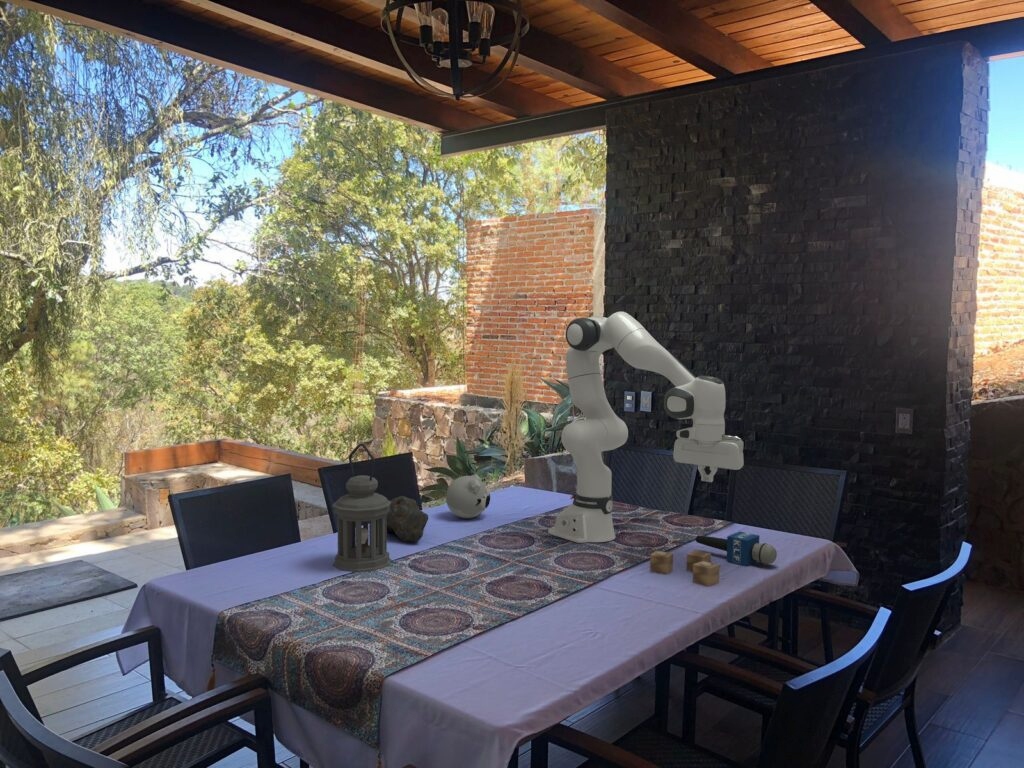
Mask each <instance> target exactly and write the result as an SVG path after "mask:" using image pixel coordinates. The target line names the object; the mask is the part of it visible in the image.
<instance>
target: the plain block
mask: <svg viewBox="0 0 1024 768" xmlns="http://www.w3.org/2000/svg"><path fill="white" fill-rule="evenodd" d="M701 561H707V562H711V563H712V553H710V552H705V551H701V550H696V549H695V550H692V551H690V552H689V553H687V554H686V572H689V571H690V572H689V573H693V564H695V563H698V562H701Z"/></svg>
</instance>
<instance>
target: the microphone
mask: <svg viewBox="0 0 1024 768" xmlns="http://www.w3.org/2000/svg"><path fill="white" fill-rule="evenodd" d="M726 537H727V538H721V537H714V536H707V535H699V534H698V535H696V538H695V542H696V543H698V544H701V545H703V546H707V547H710V548H713V549H717V550H720V551H724V552H726V562H727V561H728V562H727V563H730V562H731V564H734V563H735V565H740V566H744V567H748V566H750V565H753V564H755V563H757V562H758V563H760V564H763V565H764V564H765V565H766V564H769V565H770V564H773V563H774V562H775V561H776V560H777V557H778V556H777V555H778V554H777V553H778V551H777V549H776V548H775V546H773V545H771V544H768V543H766V542H765V543H763V542H762V543H761V542H760V535H759V534H754V533H748V532H744V531H737V532H735V533H732V534H730V535H727V536H726Z"/></svg>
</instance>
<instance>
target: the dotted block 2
mask: <svg viewBox="0 0 1024 768" xmlns="http://www.w3.org/2000/svg"><path fill="white" fill-rule="evenodd" d="M718 582H720V564H717V563H714V562H712V561H711V562H707V561H701V562H698V563H695V564H693V572H692V583H694V584H695V583H696V584H699V585H701V584H702V586H705V587H708V586H709V587H711V586H713V584H714V585H716V584H718Z"/></svg>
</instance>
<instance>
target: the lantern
mask: <svg viewBox="0 0 1024 768" xmlns="http://www.w3.org/2000/svg"><path fill="white" fill-rule="evenodd" d="M360 447H362V448H363V449H364V450H365V452H366V453H367V455H368V456H369V458H370V459H371V461H372V463H371V470H370V476H369V475H363V474H362V475H357V476H355V472H354V466H353V460H352V458H353V456H354V454H356V452H357V451H358V450H359V449H360ZM348 462H349V468H350V474H351V477H350V478H349V479H348V480H347V481H346V483H345V489H346V490H347V492H348V493H347V494H344V495H342V496H340V497H339V498H338V499H337V500H336V501H334V503H333V504H332V507H331V508H333V513H334V515H337V516H336V517H337V554H336V555H335V558H334V562H333V564H332V566H333V567H335V568H336V569H338V570H340V571H343V572H352V573H353V572H354V573H361V572H363V573H364V572H372V571H378V570H381V569H384V568H386V567H389V566H390V564H391V562H392V558H390V552H389V551H387V550H388V548H387V545H388V544H387V539H388V537H387V534H388V532H387V522H386V514H387V513H388V511H389V509H390V504H391V500H388V498H387V497H386V496H384V495H383V494H379V493H378V492H375V491H376V490H377V488H378V485H379V484H378V483H379V481H378V480H377V478H375V477H374V473H375V472H374V471H375V465H376V460H375V457H374V455H372V453H371V452H370V450H369V449H368V447H367V446H366V444H364V443H359V444H358V445H357V446H356V447H355V448H354V449H353V451H352V452H351V453H349V456H348Z"/></svg>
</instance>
